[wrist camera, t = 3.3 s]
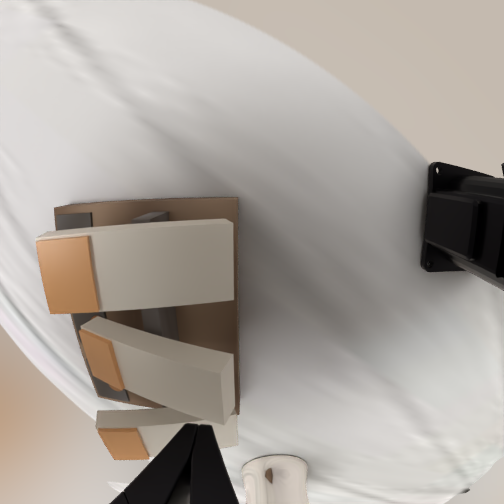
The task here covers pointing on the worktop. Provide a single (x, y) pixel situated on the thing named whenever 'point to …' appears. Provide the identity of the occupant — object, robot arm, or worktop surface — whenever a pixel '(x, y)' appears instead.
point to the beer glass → (275, 480)
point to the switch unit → (164, 318)
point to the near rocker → (137, 266)
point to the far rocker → (153, 431)
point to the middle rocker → (161, 369)
